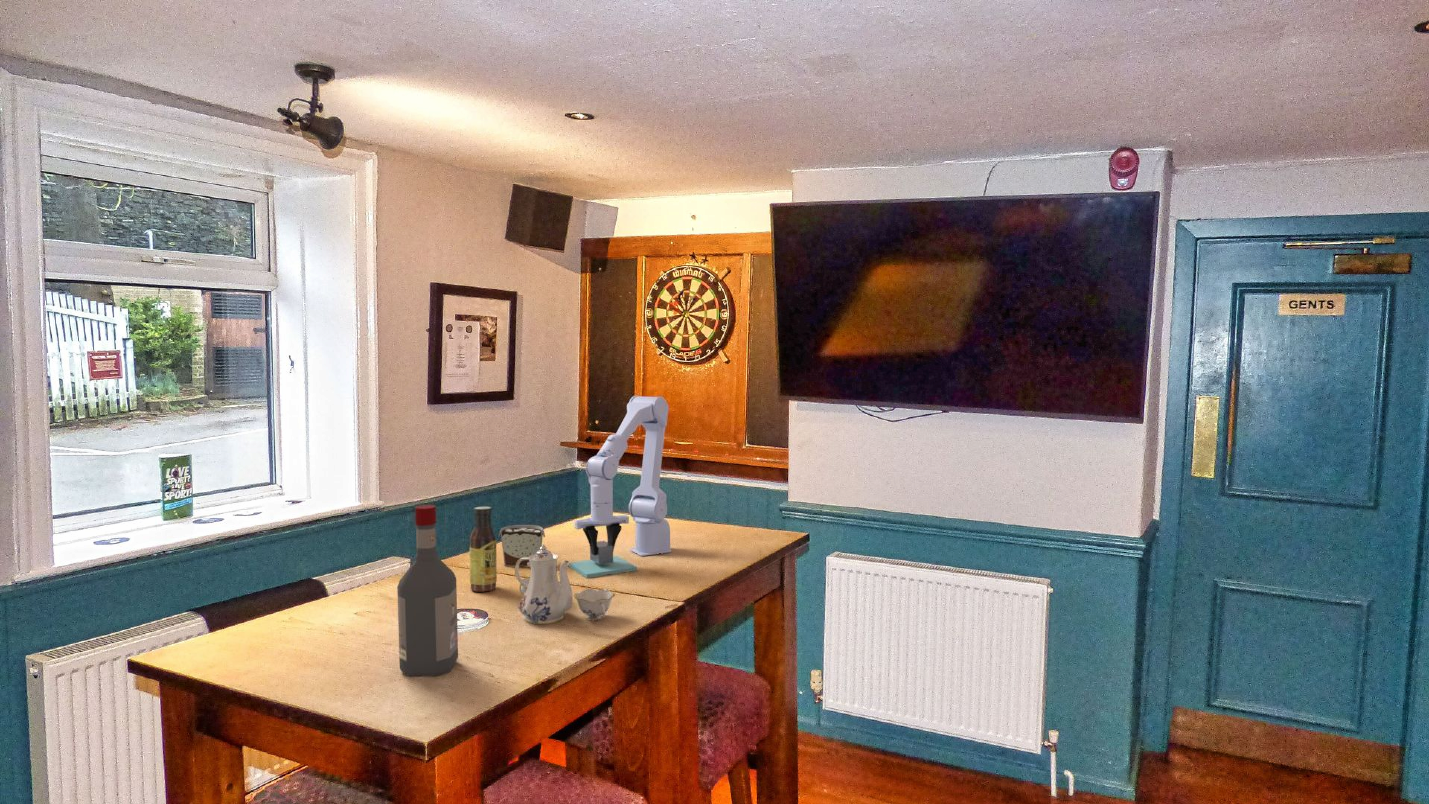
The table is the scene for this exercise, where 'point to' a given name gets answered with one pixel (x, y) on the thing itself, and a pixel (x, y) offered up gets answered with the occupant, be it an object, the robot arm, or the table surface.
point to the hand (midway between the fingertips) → (602, 553)
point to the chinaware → (555, 592)
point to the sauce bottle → (483, 552)
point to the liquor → (427, 606)
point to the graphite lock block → (603, 553)
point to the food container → (520, 543)
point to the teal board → (601, 567)
